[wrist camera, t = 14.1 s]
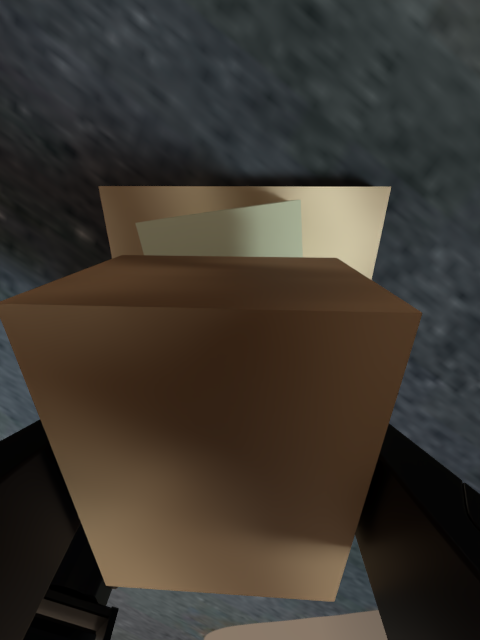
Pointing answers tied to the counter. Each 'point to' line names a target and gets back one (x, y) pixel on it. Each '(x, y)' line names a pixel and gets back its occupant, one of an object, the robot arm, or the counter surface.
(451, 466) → the counter surface
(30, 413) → the counter surface
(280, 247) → the green block
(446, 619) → the robot arm
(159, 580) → the walnut block
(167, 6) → the counter surface
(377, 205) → the birch board
